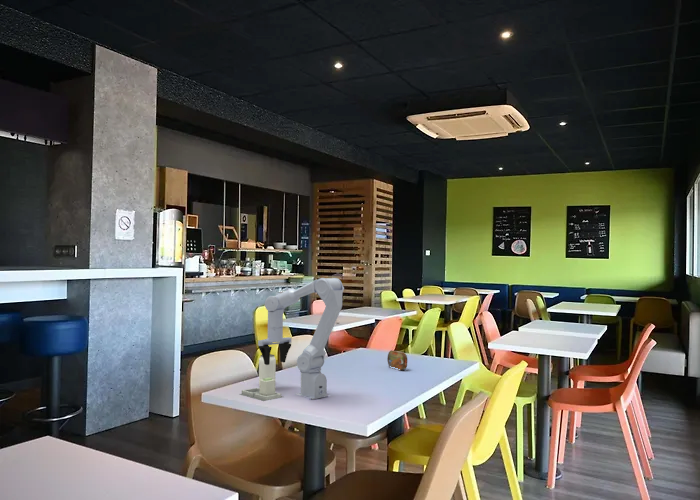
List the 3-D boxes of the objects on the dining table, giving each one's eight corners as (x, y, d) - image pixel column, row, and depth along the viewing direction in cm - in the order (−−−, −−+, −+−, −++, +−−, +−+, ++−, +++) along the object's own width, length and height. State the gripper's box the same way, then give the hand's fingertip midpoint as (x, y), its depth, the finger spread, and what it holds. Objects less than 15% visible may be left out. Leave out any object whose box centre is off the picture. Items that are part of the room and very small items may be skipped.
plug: (275, 397, 194) (275, 378, 194) (266, 398, 191) (266, 379, 191) (268, 395, 197) (268, 376, 197) (259, 397, 194) (259, 378, 194)
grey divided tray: (284, 398, 194) (284, 393, 194) (263, 402, 188) (263, 397, 188) (258, 392, 205) (258, 387, 205) (238, 395, 198) (238, 390, 199)
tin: (386, 366, 262) (386, 349, 263) (392, 366, 264) (392, 348, 264) (402, 371, 249) (402, 353, 249) (408, 371, 250) (408, 352, 251)
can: (272, 387, 213) (272, 356, 214) (256, 386, 214) (256, 356, 215) (277, 384, 219) (277, 354, 220) (262, 383, 221) (262, 353, 221)
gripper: (283, 325, 216) (283, 360, 215) (253, 328, 206) (253, 364, 205) (295, 326, 211) (294, 362, 211) (264, 329, 201) (264, 366, 200)
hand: (274, 363), depth 208 cm, fingers open, 7 cm apart
